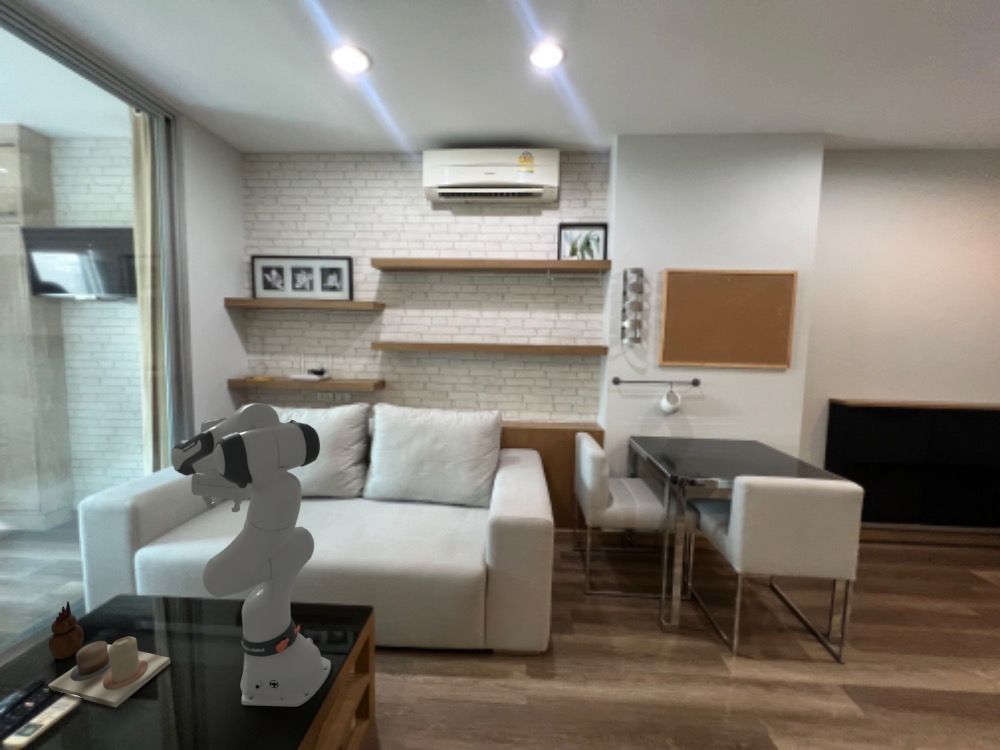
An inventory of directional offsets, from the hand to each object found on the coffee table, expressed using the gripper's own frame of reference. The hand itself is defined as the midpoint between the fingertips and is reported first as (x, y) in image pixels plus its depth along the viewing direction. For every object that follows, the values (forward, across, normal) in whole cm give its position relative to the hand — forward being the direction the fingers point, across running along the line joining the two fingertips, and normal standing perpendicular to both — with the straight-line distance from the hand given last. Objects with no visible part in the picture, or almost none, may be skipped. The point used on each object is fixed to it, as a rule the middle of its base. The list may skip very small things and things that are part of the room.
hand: (223, 509), depth 137 cm
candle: (+33, -4, -30) cm, 44 cm away
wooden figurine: (+34, -29, -27) cm, 52 cm away
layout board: (+34, -9, -30) cm, 46 cm away
